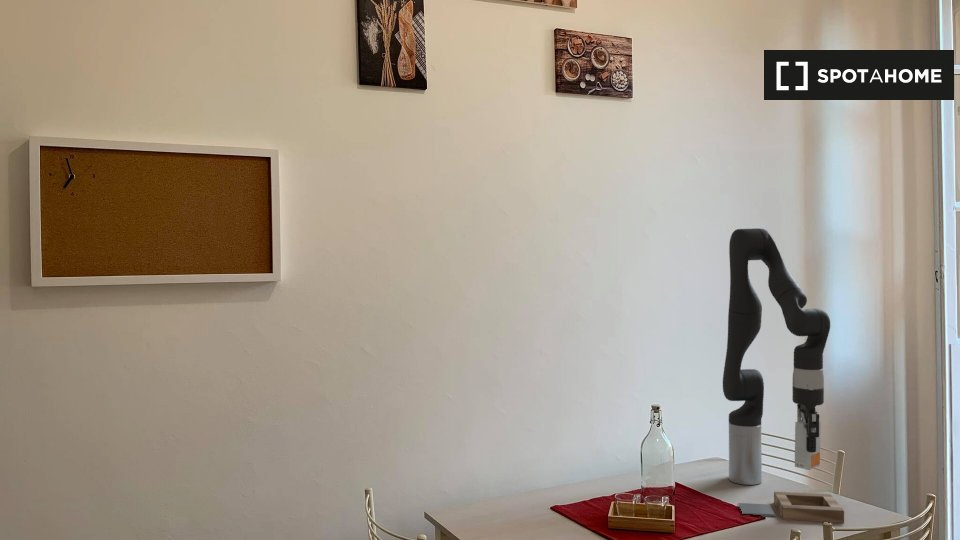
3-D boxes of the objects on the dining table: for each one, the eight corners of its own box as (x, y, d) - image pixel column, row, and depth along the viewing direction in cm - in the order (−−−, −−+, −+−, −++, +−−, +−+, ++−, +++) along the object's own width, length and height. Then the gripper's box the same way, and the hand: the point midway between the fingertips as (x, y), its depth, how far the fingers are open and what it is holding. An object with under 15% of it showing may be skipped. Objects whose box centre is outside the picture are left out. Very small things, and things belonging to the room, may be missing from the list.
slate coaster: (738, 505, 207) (738, 502, 207) (769, 506, 206) (769, 504, 206) (742, 515, 200) (742, 512, 200) (775, 516, 198) (775, 514, 198)
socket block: (774, 502, 209) (773, 491, 209) (830, 505, 206) (830, 494, 206) (783, 519, 196) (783, 507, 196) (844, 522, 193) (844, 510, 193)
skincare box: (810, 470, 198) (810, 424, 197) (794, 467, 201) (794, 421, 200) (821, 466, 202) (821, 420, 201) (805, 462, 205) (805, 418, 204)
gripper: (787, 379, 208) (787, 440, 209) (798, 390, 194) (798, 454, 195) (816, 380, 207) (816, 441, 207) (830, 390, 193) (830, 456, 193)
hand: (807, 447), depth 201 cm, fingers closed on skincare box, 7 cm apart
